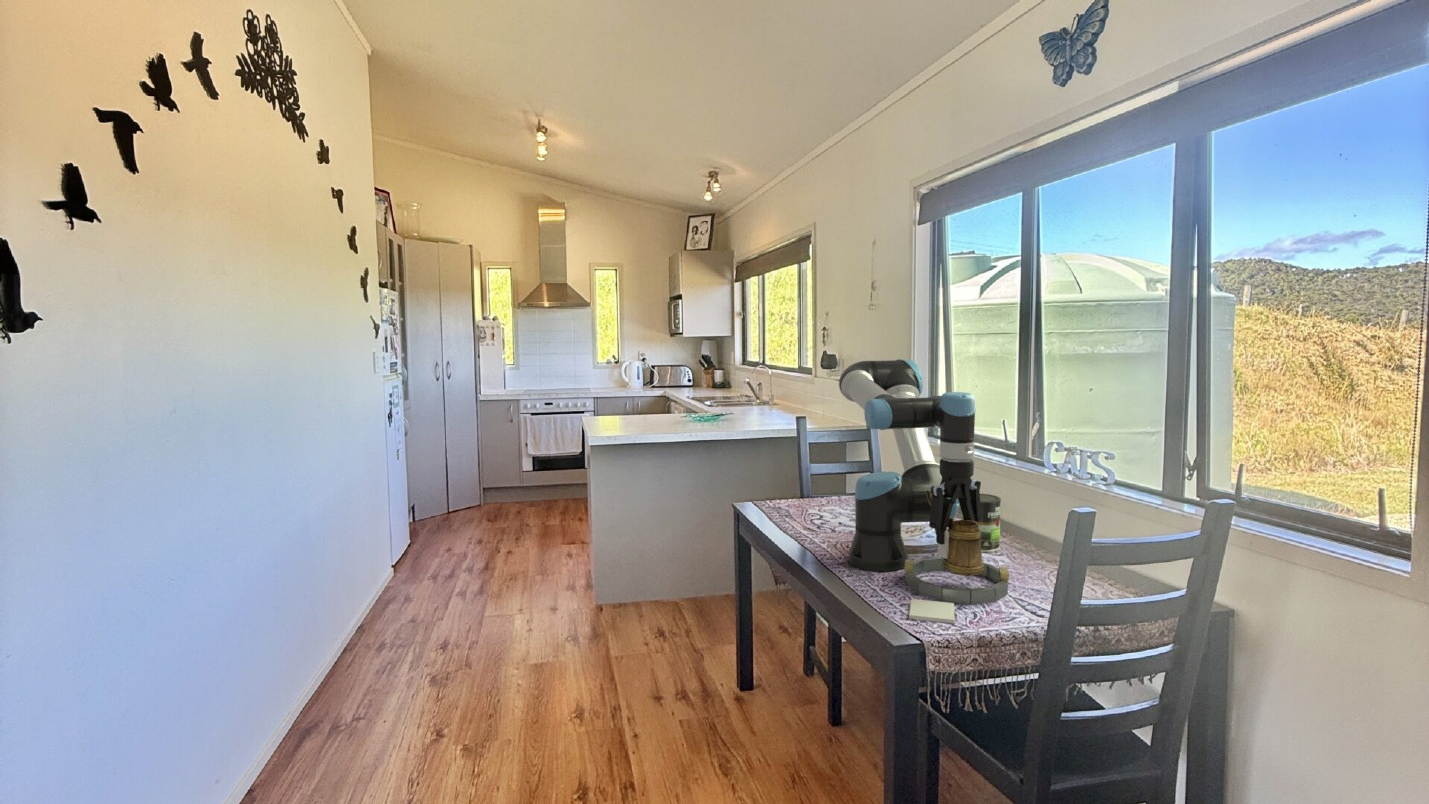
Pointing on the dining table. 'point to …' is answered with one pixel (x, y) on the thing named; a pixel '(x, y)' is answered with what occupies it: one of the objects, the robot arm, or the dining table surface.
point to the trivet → (932, 611)
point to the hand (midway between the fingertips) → (954, 553)
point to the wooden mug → (963, 547)
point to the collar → (955, 594)
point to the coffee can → (989, 523)
